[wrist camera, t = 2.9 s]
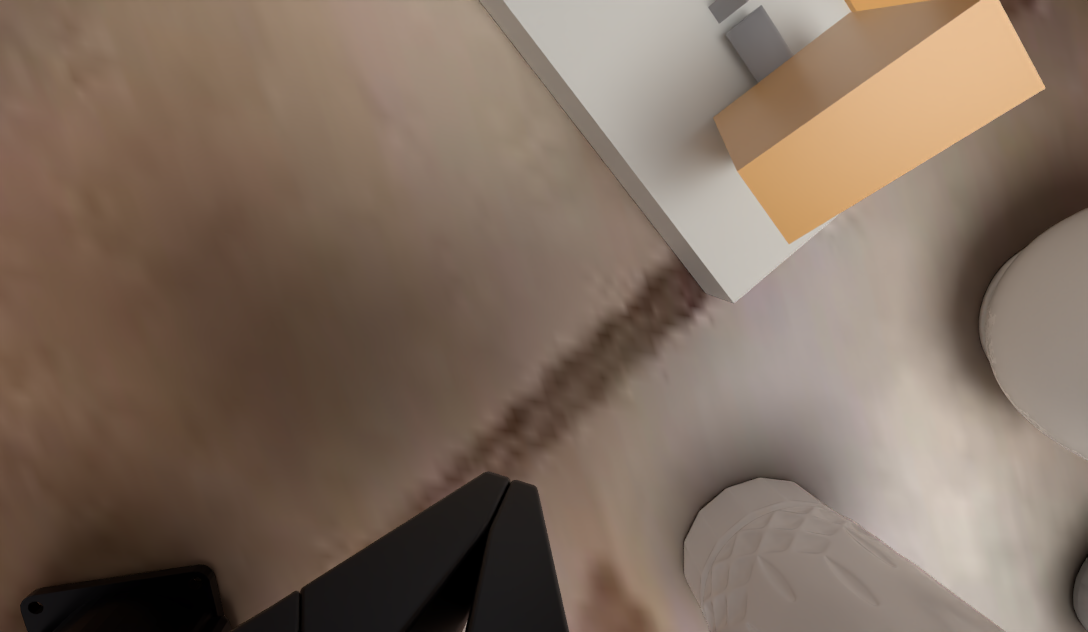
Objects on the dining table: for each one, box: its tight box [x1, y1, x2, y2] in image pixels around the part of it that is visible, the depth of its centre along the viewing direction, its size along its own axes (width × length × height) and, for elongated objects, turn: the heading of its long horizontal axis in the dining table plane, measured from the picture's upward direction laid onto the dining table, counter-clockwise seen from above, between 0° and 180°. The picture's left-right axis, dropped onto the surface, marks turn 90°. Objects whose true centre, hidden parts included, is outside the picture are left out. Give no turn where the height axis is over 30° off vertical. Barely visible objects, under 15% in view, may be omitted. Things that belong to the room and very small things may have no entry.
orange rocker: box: [713, 0, 1045, 244], centre depth 14 cm, size 4×5×9 cm
